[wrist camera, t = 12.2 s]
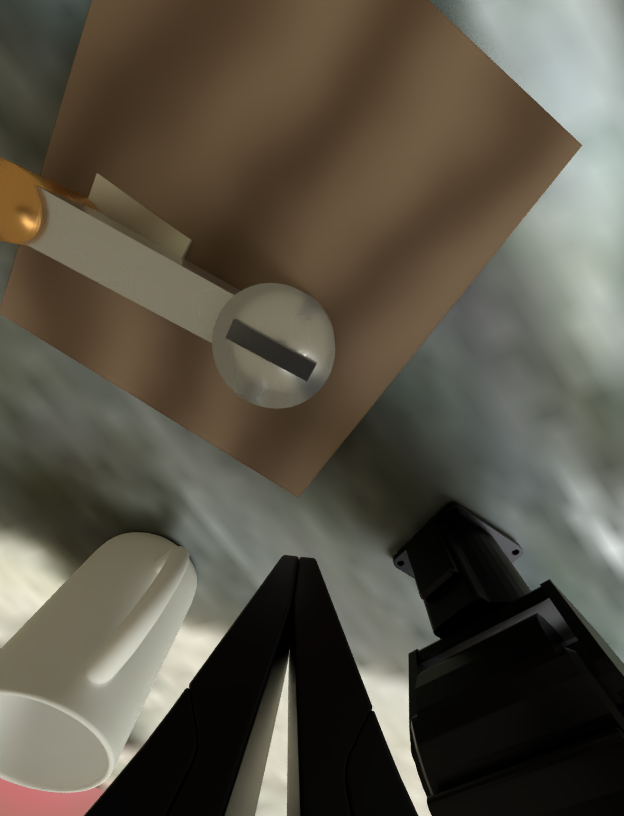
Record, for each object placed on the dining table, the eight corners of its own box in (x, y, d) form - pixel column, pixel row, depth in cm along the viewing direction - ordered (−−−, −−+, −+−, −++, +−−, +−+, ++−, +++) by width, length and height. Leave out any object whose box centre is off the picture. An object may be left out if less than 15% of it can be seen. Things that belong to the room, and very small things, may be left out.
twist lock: (352, 319, 15) (359, 324, 11) (306, 400, 17) (298, 431, 13) (61, 154, 14) (-54, 89, 10) (40, 260, 15) (-67, 243, 11)
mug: (166, 478, 21) (28, 623, 12) (252, 549, 23) (194, 728, 13) (80, 565, 25) (-85, 736, 15) (161, 622, 26) (59, 810, 16)
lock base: (557, 161, 14) (585, 142, 13) (300, 484, 21) (298, 499, 19) (185, -181, 12) (162, -259, 10) (24, 312, 18) (-5, 313, 17)
